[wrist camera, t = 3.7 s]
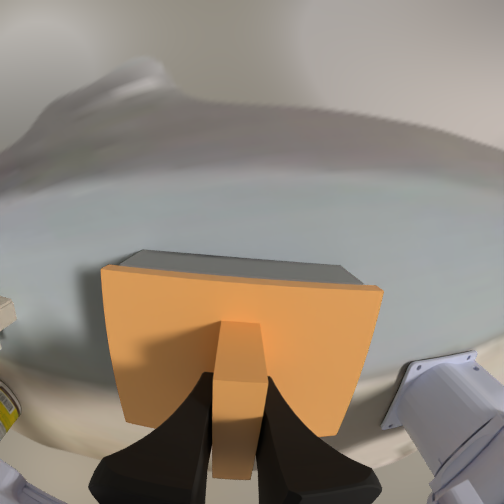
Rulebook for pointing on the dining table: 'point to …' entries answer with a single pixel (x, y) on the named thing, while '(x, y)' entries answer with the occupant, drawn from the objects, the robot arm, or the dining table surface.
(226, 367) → the lid
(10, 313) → the architectural model
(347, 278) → the tub
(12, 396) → the supplement bottle
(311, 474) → the robot arm
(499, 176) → the dining table surface
